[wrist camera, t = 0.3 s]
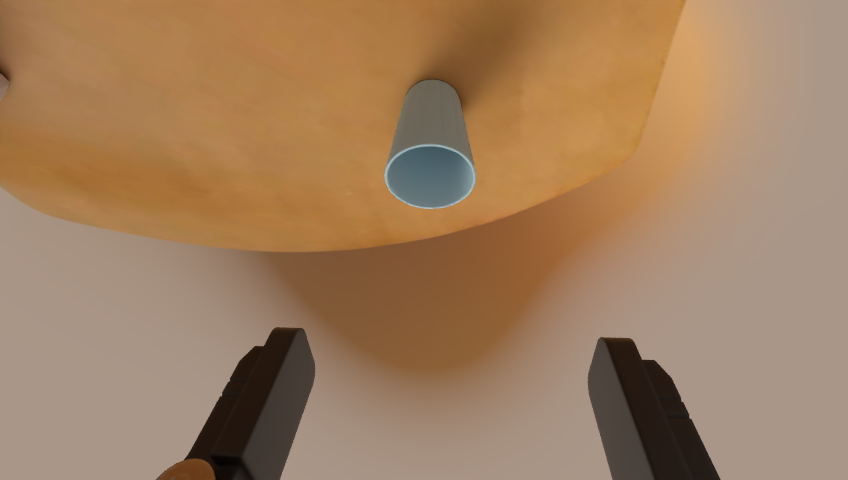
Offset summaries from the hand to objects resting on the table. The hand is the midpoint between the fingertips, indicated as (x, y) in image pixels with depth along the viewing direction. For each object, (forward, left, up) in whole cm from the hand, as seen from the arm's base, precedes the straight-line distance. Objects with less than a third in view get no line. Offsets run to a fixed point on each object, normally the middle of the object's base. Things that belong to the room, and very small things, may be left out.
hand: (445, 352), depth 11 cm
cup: (+8, -12, -31) cm, 34 cm away
